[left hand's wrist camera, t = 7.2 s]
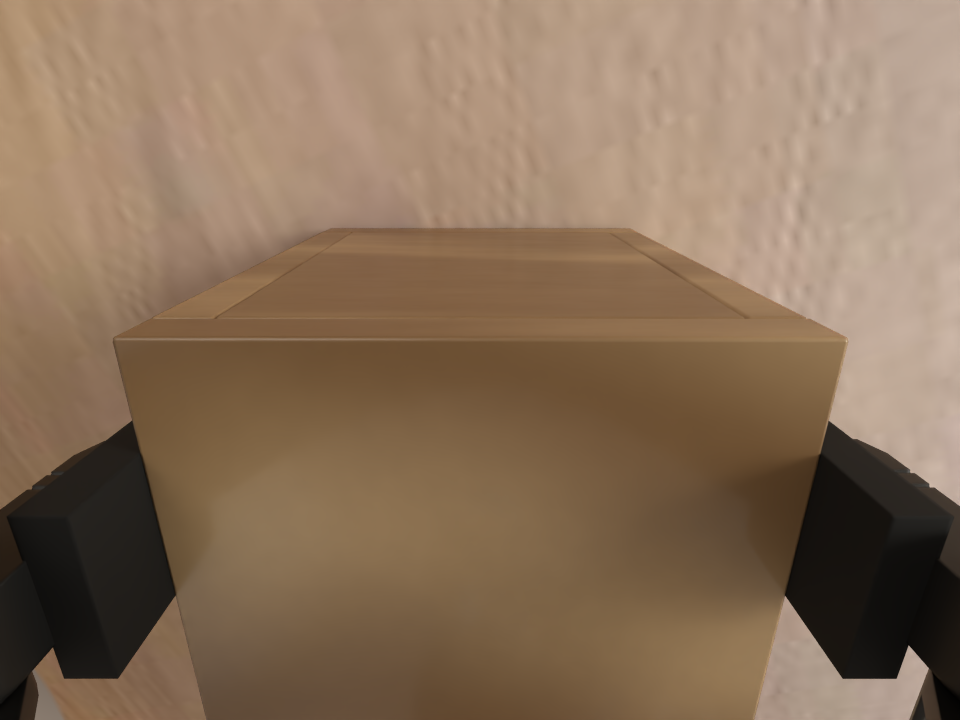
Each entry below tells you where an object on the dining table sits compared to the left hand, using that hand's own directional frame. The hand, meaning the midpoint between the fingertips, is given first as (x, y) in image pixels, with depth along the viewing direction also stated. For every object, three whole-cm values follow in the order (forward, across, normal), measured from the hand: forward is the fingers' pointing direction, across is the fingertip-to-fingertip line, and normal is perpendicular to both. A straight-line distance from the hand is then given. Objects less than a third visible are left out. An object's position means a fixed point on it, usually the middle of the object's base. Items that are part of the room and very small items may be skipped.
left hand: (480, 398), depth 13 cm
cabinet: (+7, 0, -5) cm, 8 cm away
